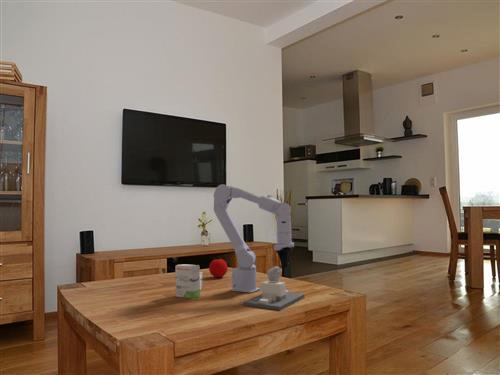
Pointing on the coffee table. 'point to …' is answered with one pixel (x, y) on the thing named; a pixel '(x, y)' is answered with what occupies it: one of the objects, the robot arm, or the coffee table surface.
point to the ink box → (187, 280)
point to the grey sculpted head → (274, 273)
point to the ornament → (218, 268)
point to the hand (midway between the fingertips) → (284, 266)
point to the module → (274, 289)
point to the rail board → (273, 301)
